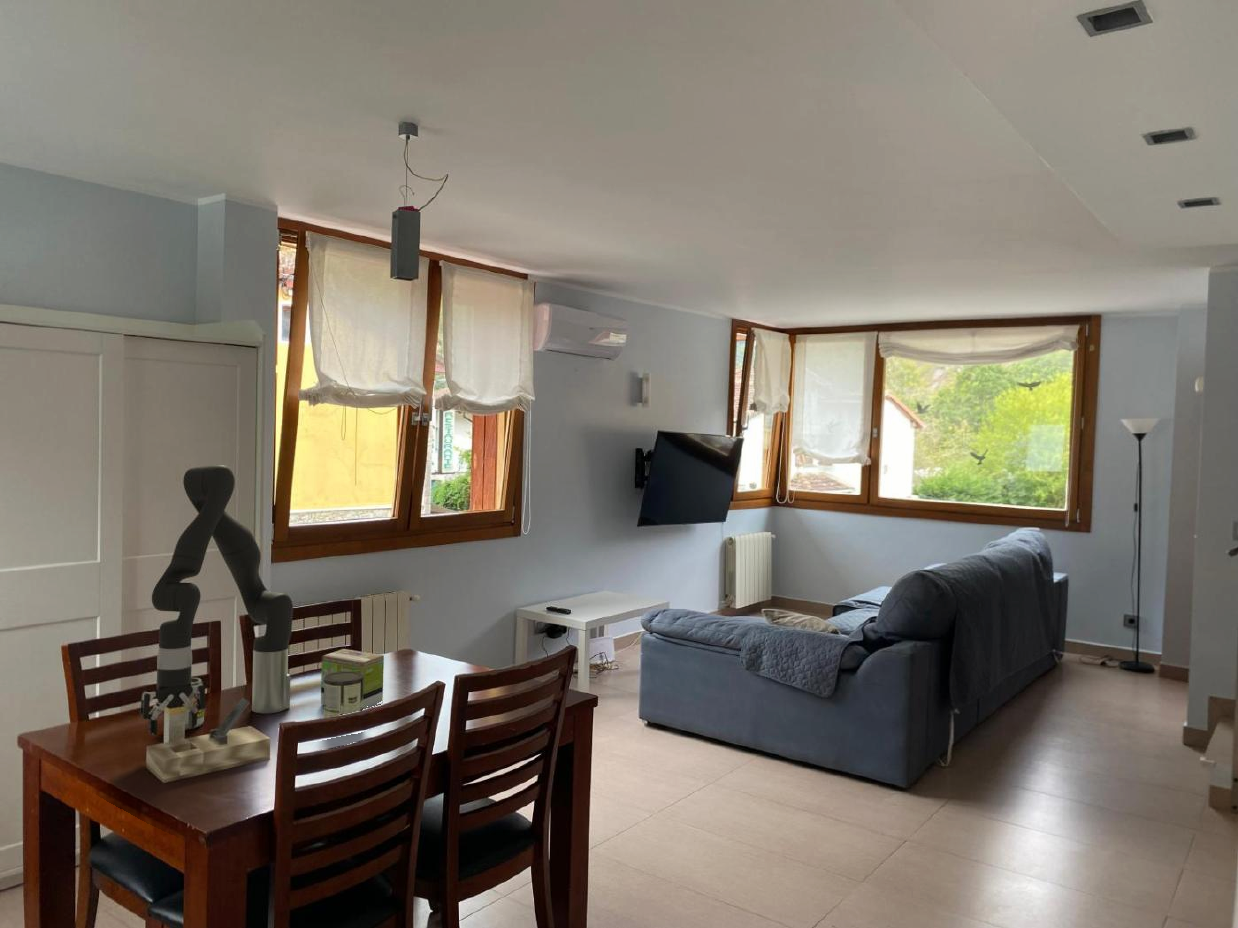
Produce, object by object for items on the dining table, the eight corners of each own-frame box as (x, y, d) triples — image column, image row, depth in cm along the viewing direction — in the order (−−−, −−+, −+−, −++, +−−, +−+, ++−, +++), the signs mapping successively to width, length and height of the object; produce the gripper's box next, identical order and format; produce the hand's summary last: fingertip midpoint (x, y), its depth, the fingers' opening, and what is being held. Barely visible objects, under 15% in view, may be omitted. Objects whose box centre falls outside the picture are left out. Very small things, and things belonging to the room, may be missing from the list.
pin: (179, 749, 223) (180, 702, 222) (184, 753, 220) (185, 706, 220) (163, 752, 220) (164, 705, 220) (168, 756, 217) (169, 708, 217)
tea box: (319, 705, 261) (320, 654, 261) (342, 696, 271) (343, 647, 270) (362, 713, 256) (363, 661, 255) (383, 703, 265) (385, 653, 265)
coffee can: (338, 720, 249) (339, 669, 248) (370, 725, 245) (371, 673, 245) (314, 731, 239) (315, 678, 238) (347, 736, 236) (348, 683, 235)
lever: (245, 699, 221) (240, 696, 221) (251, 703, 219) (247, 700, 218) (215, 738, 217) (211, 735, 216) (221, 742, 214) (217, 740, 213)
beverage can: (187, 733, 235) (188, 687, 234) (159, 730, 236) (160, 684, 236) (210, 722, 244) (211, 678, 243) (183, 719, 245) (184, 675, 245)
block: (249, 745, 227) (250, 718, 227) (269, 758, 218) (270, 730, 218) (146, 767, 210) (146, 738, 210) (163, 782, 201) (164, 752, 201)
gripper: (199, 657, 227) (197, 721, 227) (137, 665, 217) (136, 732, 217) (210, 663, 222) (208, 729, 222) (147, 671, 212) (145, 740, 212)
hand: (172, 730), depth 220 cm, fingers open, 8 cm apart
